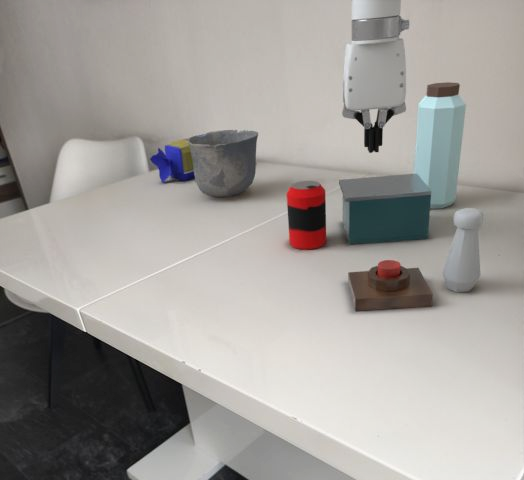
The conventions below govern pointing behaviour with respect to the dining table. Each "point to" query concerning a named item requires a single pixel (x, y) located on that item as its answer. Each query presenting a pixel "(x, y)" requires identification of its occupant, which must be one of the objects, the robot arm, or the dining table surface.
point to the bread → (175, 161)
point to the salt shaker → (464, 252)
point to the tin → (386, 219)
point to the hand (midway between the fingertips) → (373, 150)
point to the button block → (389, 290)
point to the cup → (224, 161)
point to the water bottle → (440, 141)
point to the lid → (383, 187)
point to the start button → (389, 269)
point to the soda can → (306, 215)
